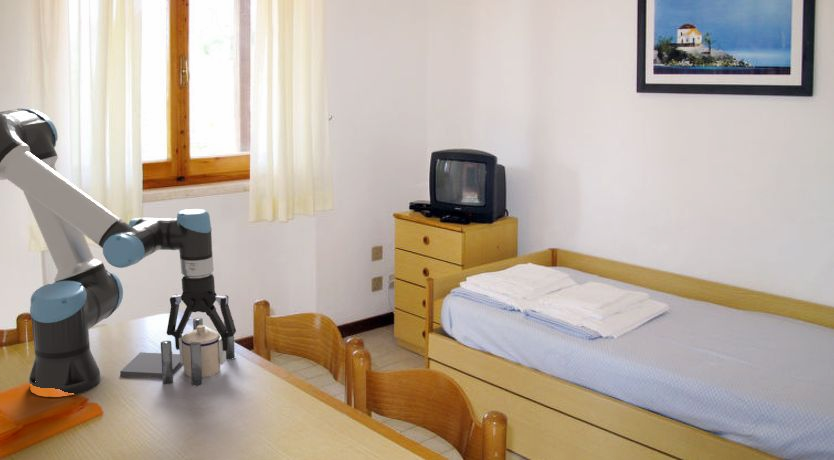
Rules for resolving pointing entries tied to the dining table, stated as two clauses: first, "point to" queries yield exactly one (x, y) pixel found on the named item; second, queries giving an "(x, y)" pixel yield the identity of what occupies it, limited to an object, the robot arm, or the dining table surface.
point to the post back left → (197, 322)
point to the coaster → (148, 365)
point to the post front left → (166, 362)
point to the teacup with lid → (202, 350)
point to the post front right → (196, 363)
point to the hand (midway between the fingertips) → (203, 362)
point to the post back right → (230, 347)
